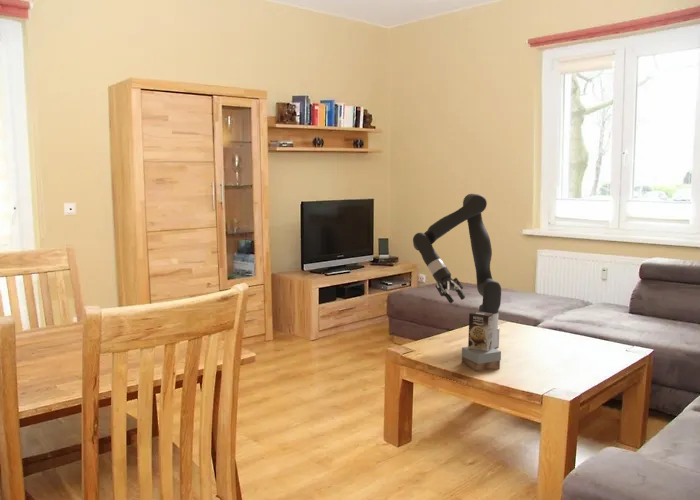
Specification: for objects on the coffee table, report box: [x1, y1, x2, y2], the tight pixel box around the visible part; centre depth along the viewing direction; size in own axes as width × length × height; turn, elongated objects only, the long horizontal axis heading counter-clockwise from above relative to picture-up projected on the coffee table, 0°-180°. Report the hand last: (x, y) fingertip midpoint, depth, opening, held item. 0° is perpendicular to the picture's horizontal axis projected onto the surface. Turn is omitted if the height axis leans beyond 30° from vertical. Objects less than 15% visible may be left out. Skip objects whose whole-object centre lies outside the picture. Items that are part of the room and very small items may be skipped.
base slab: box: [461, 355, 501, 372], centre depth 273 cm, size 12×12×4 cm
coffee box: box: [467, 310, 493, 352], centre depth 272 cm, size 9×6×16 cm
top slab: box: [461, 346, 502, 364], centre depth 272 cm, size 12×12×4 cm
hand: (458, 300), depth 279 cm, fingers open, 8 cm apart
